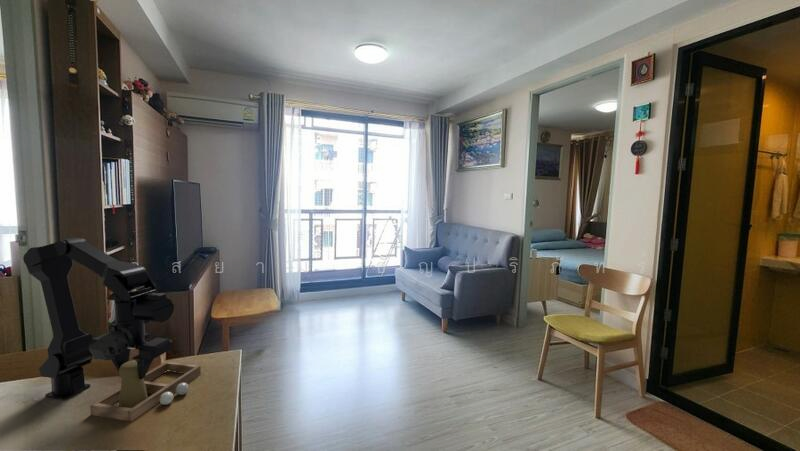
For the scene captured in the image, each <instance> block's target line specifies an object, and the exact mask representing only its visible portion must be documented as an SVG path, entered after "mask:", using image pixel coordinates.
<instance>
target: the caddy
mask: <svg viewBox="0 0 800 451" xmlns="http://www.w3.org/2000/svg"><path fill="white" fill-rule="evenodd" d="M201 367H202V366H201V365H198V364H190V363H189V364H188V363H181V362H173V361H165V362H163V363H161V364H159V365H158V366H156V367H154V368H152V369H151V370H148V371H147V373H146V375H145V377H144V382H145V386H146V391H147V394H151V395H150V396H148V398H147V399H145V400H144V401H142V402H141V403H139V404H138V405H136V406H134V407H133V408H127V407H120V406H119V405H114V404H116V403H118V402H119V399H120V391H121V387H120V388H118V389H116V390H114V391H112V392H111V393H109V394H106V395H105V396H104V397H102V398H100V399H98V400H96V401H95V402H93V403H91V404H90V415H91V416H95V417H102V418H107V419H108V418H109V419H114V420H119V421H128V422H133V421H135V420H136V419H137V418H139V417H140V416H142V415H143V414H145V413H146V412H147V411H149V410H151V409H152V408H154V407H156V405H158V404H159V403H160V400H159V399H160V396H161V395H162V394H163V393H165V392H171V393H173V394H174V393H176V387H177V386H178V385H179V384H180V383H187V384H188V383H190V382H191V381H193V380H194V379H196V378H197V377H198V376H200V375H201V374H202V370H201V369H202V368H201ZM167 370H170V371H176V372H183V373H185V374H183V373H182V375H180V376H178V378H176V379H175V380H173V381H171V382H170V383H168V384H166V383H161V382H153V379H154V380H155V379H157V378H159V377H161V376H162V375H163V373H164V372H165V371H167ZM167 372H168V371H167ZM176 372H175V373H176ZM165 373H166V372H165ZM165 373H164V374H165ZM161 374H162V375H161ZM158 376H159V377H158Z"/></svg>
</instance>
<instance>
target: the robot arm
mask: <svg viewBox="0 0 800 451" xmlns="http://www.w3.org/2000/svg"><path fill="white" fill-rule="evenodd" d="M22 258H23V263H24V265H26V269H27V271H28V273H29V274H30V275H31V276H32V277H34V279H36V280H37V281H39V282H40V285H41V290H42V293H43V294H42V295H43V297H44V302H45V305H46V309H47V313H48V317H49V321H50V322H49V323H50V327H51V330H52V334H53V337H52V339H51V341H50V343H49V344H48V345H49V346H48V347H47V355H48V356H47V357H48V358H47V359H46V360H45V361H44V362H43V363H42V365H41V366H40V367H38V370H39V374H40V376H41V377H44V378H50V380H51V391H49V392H48V393H45V395H44V396H45V397H46V398H53V399H56V400H57V399H58V400H67V399H69V398H71V397H73V396H75V395H77V394H79V393H81V392H82V391H84V390H86V389H88V388H90V387H91V384H90V383H85V373H84V372H85V371H84V366H86V365H89V364H91V363H92V361H93V358H94V360H103V361H109V360H110V361H111V362H112V364H113V365H114V367H115V369H116V371H117V373H118V374H119V369H120V367H121V365H122V364H124V363H126V362H128V361H130V355H131V350H138V354H136V355H134V356H133V357H131V359H132V360H135V361H137V367H138V375H139V379H143V378H144V377H145V375H146V373H147V372H149V369H150V367H151V365H152V363H153V361H154V360H155V359H157V358H158V357H160V356H162V355H164V354H165V353H167V352H170V351H171V350H173V340H171V339H170V338H163V337H155V338H153V339H152V340H149V341H146V340H147V339H149V338H150V333H146V324H147V323H149V322H156V323H165V322H166V321H168V320H169V319H170V318H171V316H172V315H173V314H174V311H175V304H174V303H173V301H172V299H170V298H167V293H165V292H159V289H158V287H157V284H156V283H155V281H153V278H151V276H150V275H149V273H148V271H147V269H146V268H145V267H144V266H142V265H138V264H136V263H133V262H127V261H121V260H118V259H117V258H114V257H113V256H111V255H109V254H107V253H106V252H104V251H102V250H100V249H99V248H97V247H95V245H92V244H91V243H88V241H87V240H86V239H85V238H83V237H73V238H64V239H63V238H62V239H60V240H58V241H55V242H53V243H49V244H47V245H42V246H33V247H29V248H28V250H27V251H26V252H25V253H24V255H23V257H22ZM73 261H74V262H76V263H78V264H79V265H81V266H83V267H84V268H86V269H88V270H89V271H91V272H93V273H95V274H96V275H97V276H99V277H100V278H101V281H102V285H103V286H105V287H106V288H107V289H108V290H109V291H110V292H112V293H111V294H110V295H108V296H107V297H106V300H109V301H114V302H113V303H114V323H112V324H110V326H109V331H108V332H107V333H103V334H102V335H99V336H97V337H93V335H92V334H91V333H86V332H84V331H83V330H82V329H80V325H79V324H80V323H79V321H78V317H77V313H76V308H75V307H76V306H75V304H74V300H73V296H72V290H71V288H70V282H69V278H68V276H69V274H70V272H71V270H72V268H73V266H74V264H73ZM158 292H159V293H158Z"/></svg>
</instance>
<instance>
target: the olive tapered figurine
mask: <svg viewBox="0 0 800 451" xmlns="http://www.w3.org/2000/svg"><path fill="white" fill-rule="evenodd" d="M118 375H119V377H120V378H121V385H120V388H121V391H120V399H119V401H118V406H120V407H127V408H133V407H134V406H136V405H138V404H139V403H141V402H142V401H144V400H145V399H147V398H148V397H149V396H148V393H147V391H146V386H145V382H144V378H143V379H139V375H138V367H137V361H135V360H133V359H132V360H129V361H128V362H126V363H124V364H122V365H121V367H120V369H119V373H118Z"/></svg>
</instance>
